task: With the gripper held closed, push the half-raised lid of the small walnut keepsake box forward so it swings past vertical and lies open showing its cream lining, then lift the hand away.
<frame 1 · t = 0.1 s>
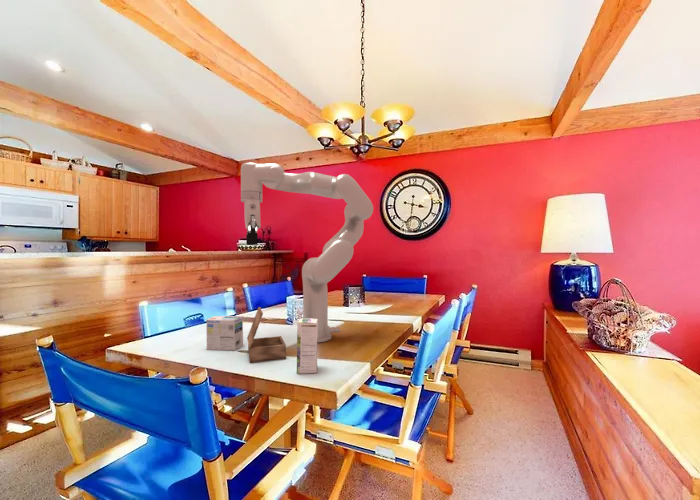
hand: (251, 244, 118), 37 cm above the table, tool pointing down, fingers open, 9 cm apart
keepsake box: (266, 355, 106), on the table
light bulb box: (225, 348, 115), on the table
syrup box: (307, 370, 94), on the table
lid: (254, 326, 105), point 10 cm above the table, hinge at 70.0°
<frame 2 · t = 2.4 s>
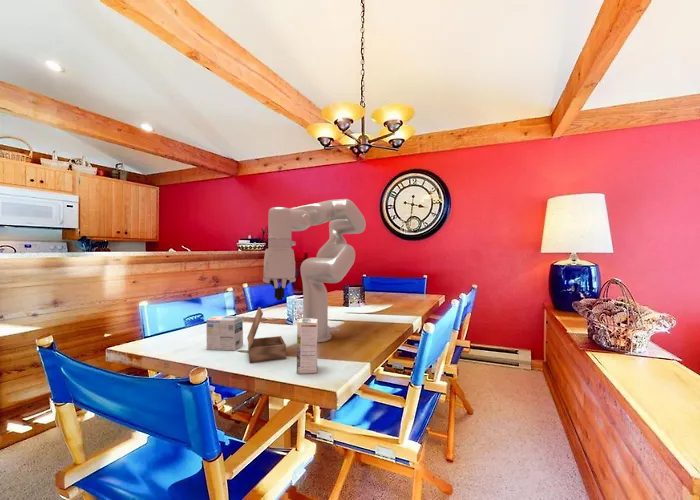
hand: (279, 299, 107), 18 cm above the table, tool pointing down, fingers closed
nothing on the table moved.
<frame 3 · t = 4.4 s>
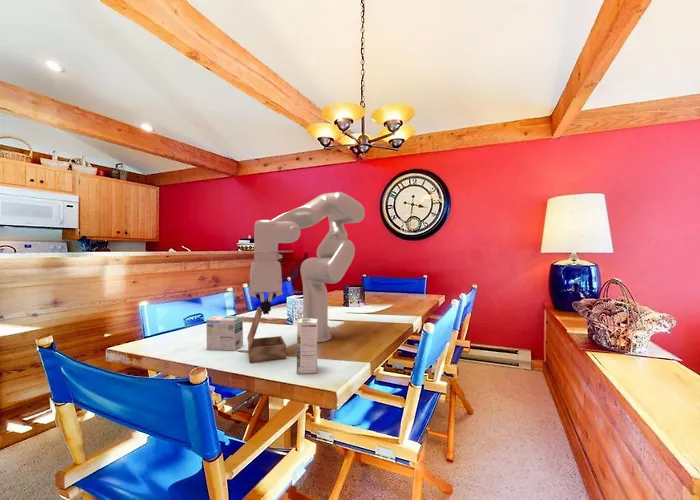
hand: (265, 313, 106), 14 cm above the table, tool pointing down, fingers closed
lid: (254, 326, 105), point 10 cm above the table, hinge at 71.6°, touching gripper
everything else where it was.
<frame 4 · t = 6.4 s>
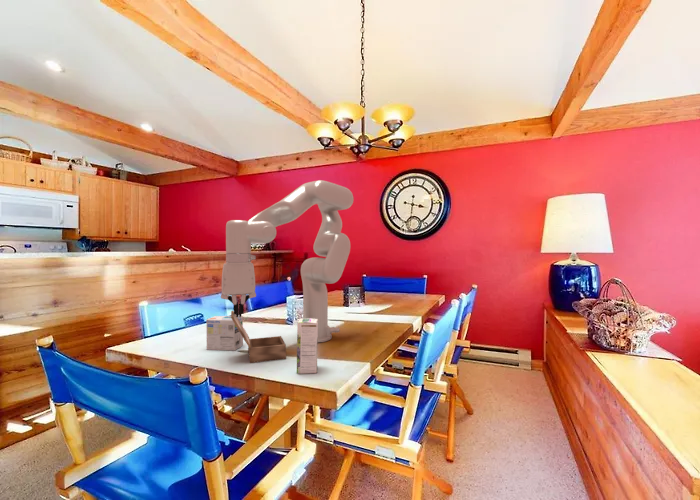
hand: (238, 316, 103), 14 cm above the table, tool pointing down, fingers closed
lid: (240, 328, 103), point 10 cm above the table, hinge at 118.4°, touching gripper
everything else where it was.
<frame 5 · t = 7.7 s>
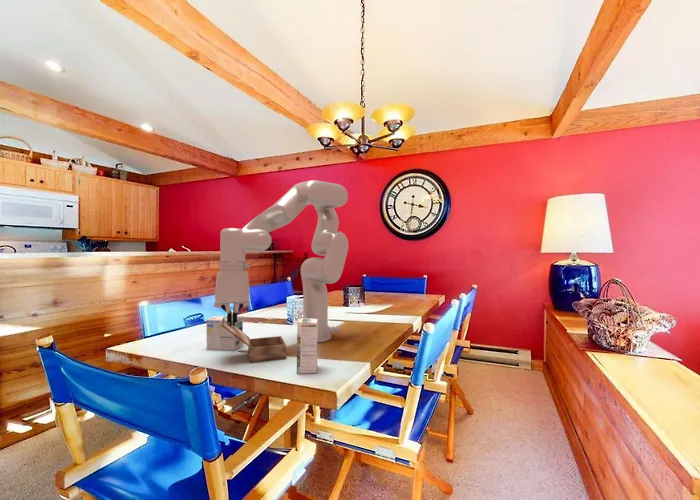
hand: (232, 324, 102), 11 cm above the table, tool pointing down, fingers closed
lid: (236, 332, 103), point 9 cm above the table, hinge at 137.4°, touching gripper
everything else where it was.
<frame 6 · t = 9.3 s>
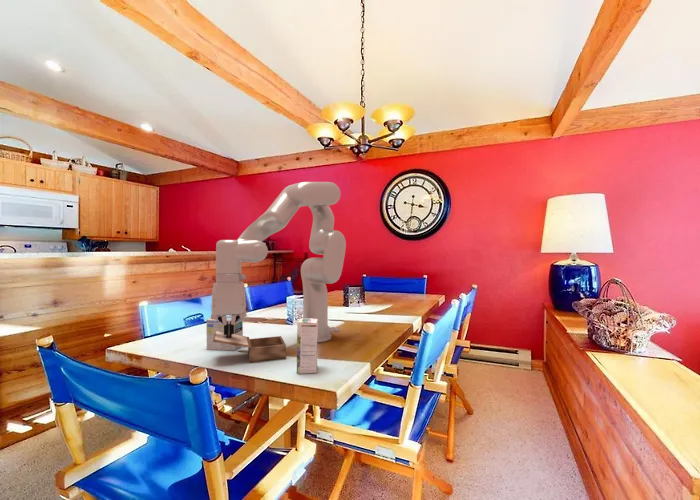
hand: (228, 336, 102), 7 cm above the table, tool pointing down, fingers closed
lid: (232, 339, 103), point 6 cm above the table, hinge at 164.4°, touching gripper
everything else where it was.
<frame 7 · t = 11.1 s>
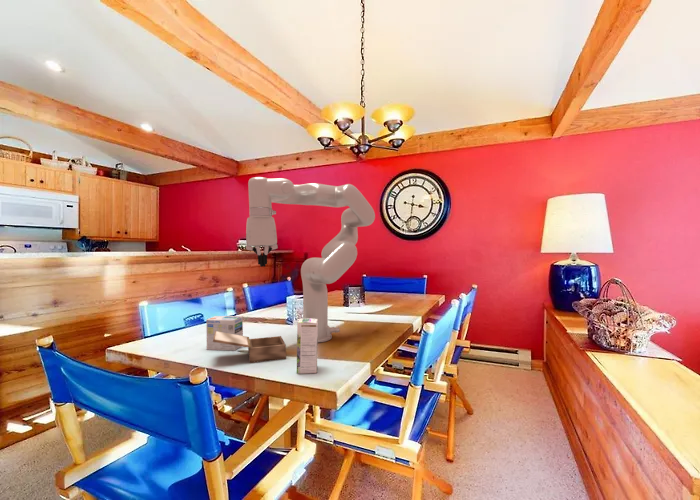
hand: (262, 266, 113), 29 cm above the table, tool pointing down, fingers closed
lid: (232, 339, 103), point 6 cm above the table, hinge at 164.5°
everything else where it was.
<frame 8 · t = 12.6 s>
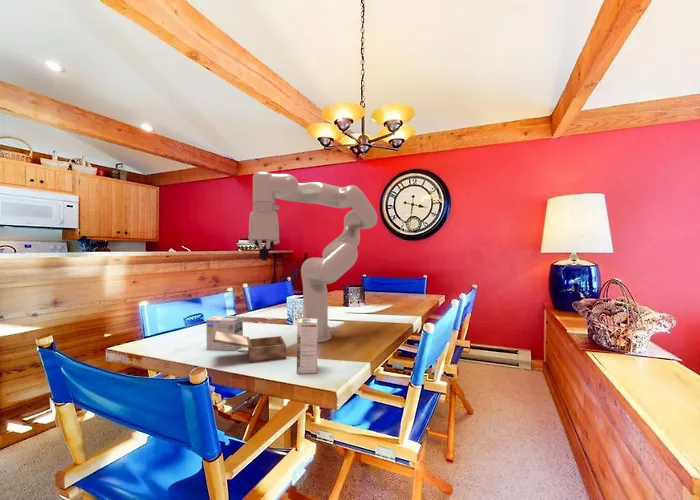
hand: (264, 260, 114), 31 cm above the table, tool pointing down, fingers closed
nothing on the table moved.
at the end: lid at +164° (first picture: +70°) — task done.
